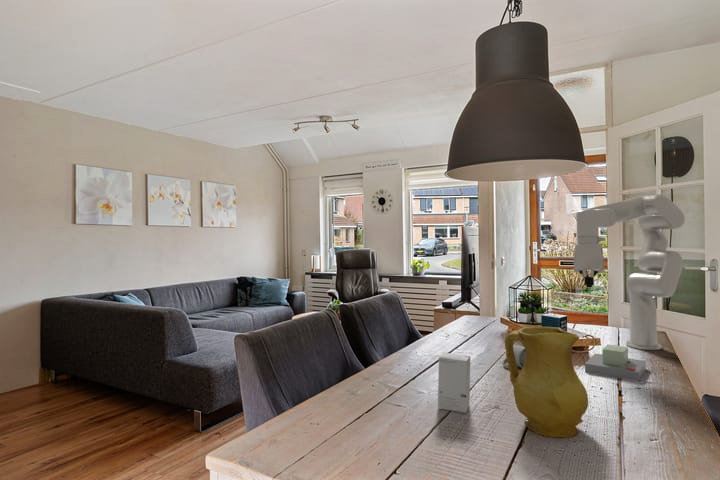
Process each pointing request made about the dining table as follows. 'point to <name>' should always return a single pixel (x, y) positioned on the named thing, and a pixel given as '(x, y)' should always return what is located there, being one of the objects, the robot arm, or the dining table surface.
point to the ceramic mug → (517, 356)
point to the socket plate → (616, 368)
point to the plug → (615, 355)
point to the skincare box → (454, 382)
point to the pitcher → (547, 381)
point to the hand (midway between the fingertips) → (589, 286)
